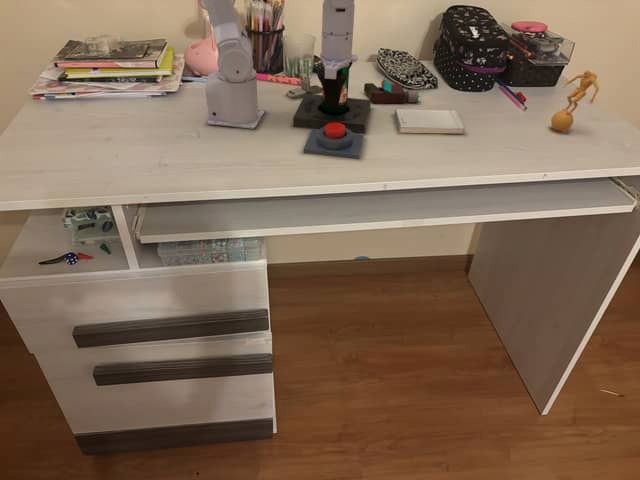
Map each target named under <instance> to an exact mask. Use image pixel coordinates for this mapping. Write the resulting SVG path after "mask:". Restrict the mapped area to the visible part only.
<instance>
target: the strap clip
mask: <svg viewBox="0 0 640 480" xmlns="http://www.w3.org/2000/svg"><path fill="white" fill-rule="evenodd" d="M299 75H300V76H299V81H300V87H296V88H293V89H292V88H291V89H289V90H287V91H286V96H287V97H289V98H291V99H300V98H303V97H304V95H305V94H312V95H316V94H318V93H322V86H318V85H317V84H315V85H311V80H310V76H309V75H308V74H306V73H300V74H299ZM303 77H304V78H303ZM305 78H306V79H305Z"/></svg>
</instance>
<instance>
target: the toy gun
mask: <svg viewBox="0 0 640 480" xmlns="http://www.w3.org/2000/svg"><path fill="white" fill-rule="evenodd" d="M380 85H381V86H377V85H375V83H373V82H367V83H364V85H363V87H364V88H363V92H364V94H366V95H367V96H368V97H369V100H371V103H373V104H381V103H382V104H384V103H386V104H391V103H392V104H405V102H406V103H418V102H419V98H421V97H423V96H422V95H419V91H418V89H417V90H416V89H415V90H409V89H408V90H404V88H403V86H402V84H396V83H395V82H393V81H391V80H389V79H387V78H383V80H382V81H381V83H380Z"/></svg>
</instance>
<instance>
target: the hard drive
mask: <svg viewBox="0 0 640 480" xmlns="http://www.w3.org/2000/svg"><path fill="white" fill-rule="evenodd" d="M394 119H395V123H396V127H397V130H398V132H399V134H400V133H402V134H403V133H404V134H405V133H406V134H456V135H457V134H461V135H463V134H464V132H465V126H464V124H463V123H462V120H461V119H460V117H459V115H458V113H457V111H456V110H444V109H443V110H440V109H405V108H403V109H402V108H395V109H394Z"/></svg>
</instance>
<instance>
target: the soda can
mask: <svg viewBox="0 0 640 480" xmlns="http://www.w3.org/2000/svg"><path fill="white" fill-rule="evenodd" d="M349 67H350V64H349V63H348V64H347V65H345V66H344V67H342V68H340V69H339V70H338V72H339V73H342V74H349V75H348V77H347V79H346V81H345V83H344V85H343V87H342V91H341V96H340V101H339V104H338V107H337V108H327V106H326V101H325V96H324V91H323V87H322V86H321V88H322V91H321V95H322V112H321V113H323V114H327V115H343V114H346V113H347V98H349V97H348V96H349V83H350V82H349V80H350V69H349ZM350 68H351V67H350ZM322 70H325V67H324V65H323V64H322Z"/></svg>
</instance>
